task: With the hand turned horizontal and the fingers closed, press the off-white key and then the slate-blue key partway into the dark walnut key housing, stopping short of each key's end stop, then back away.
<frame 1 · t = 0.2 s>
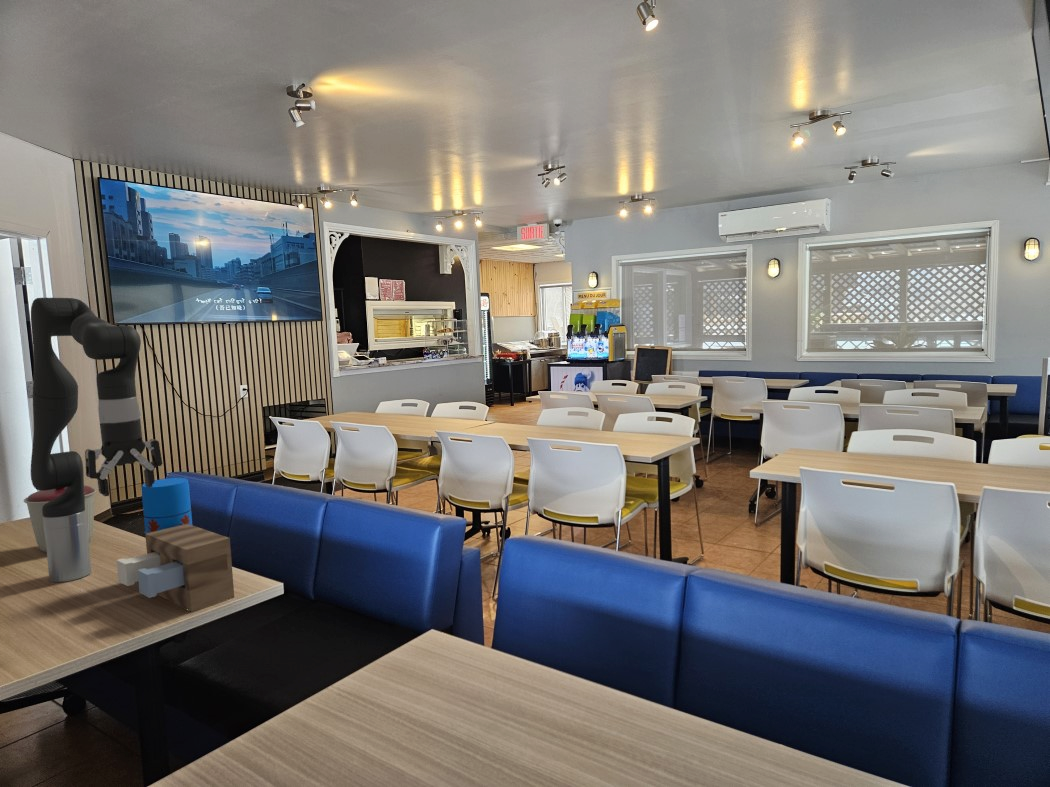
hand: (127, 491, 143), 29 cm above the table, tool pointing down, fingers open, 8 cm apart
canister: (66, 548, 199), on the table
key blue: (170, 575, 148), point 8 cm above the table, slide at 0.0 cm
thermos: (173, 576, 171), on the table
housing: (191, 594, 158), on the table
key white: (148, 565, 155), point 8 cm above the table, slide at 0.0 cm
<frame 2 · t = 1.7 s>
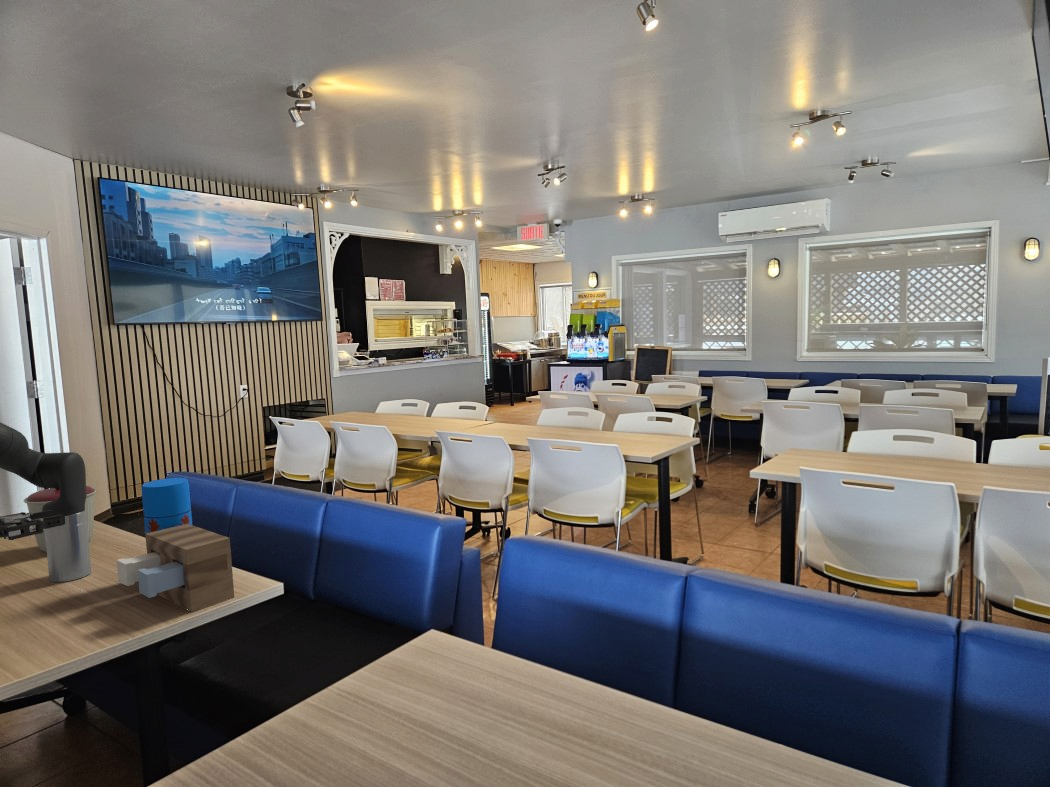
hand: (58, 517, 141), 24 cm above the table, tool horizontal, fingers open, 6 cm apart
nothing on the table moved.
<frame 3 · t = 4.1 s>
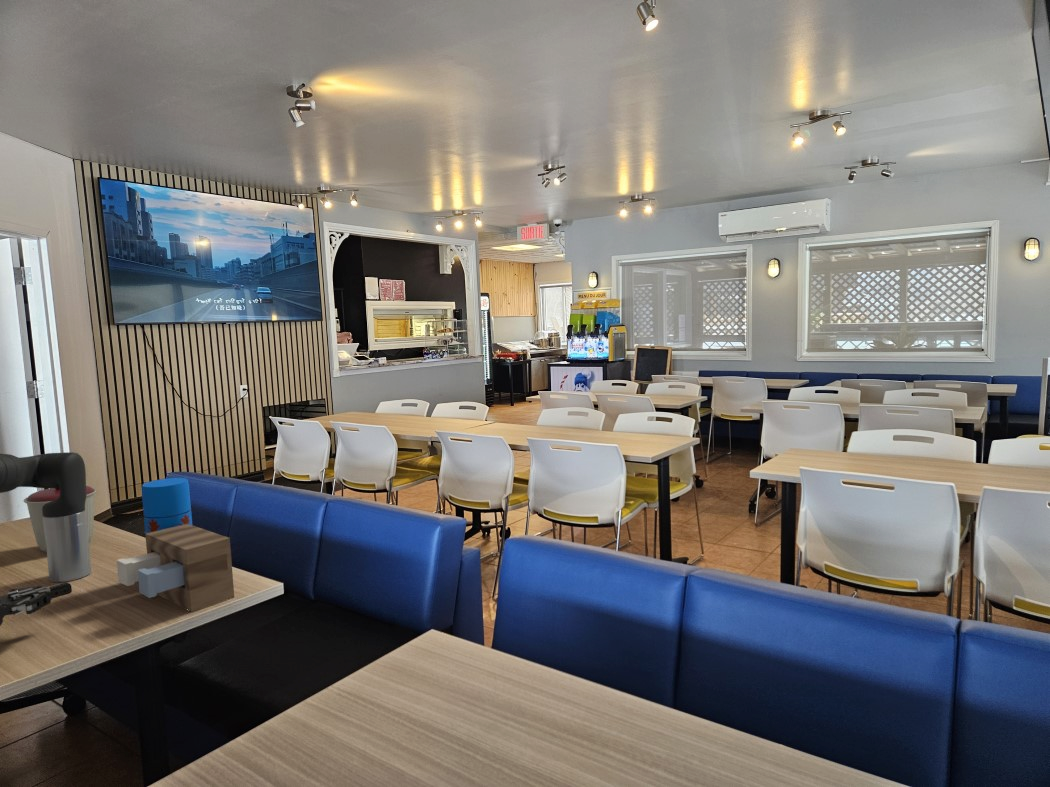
hand: (70, 587, 143), 8 cm above the table, tool horizontal, fingers closed
nothing on the table moved.
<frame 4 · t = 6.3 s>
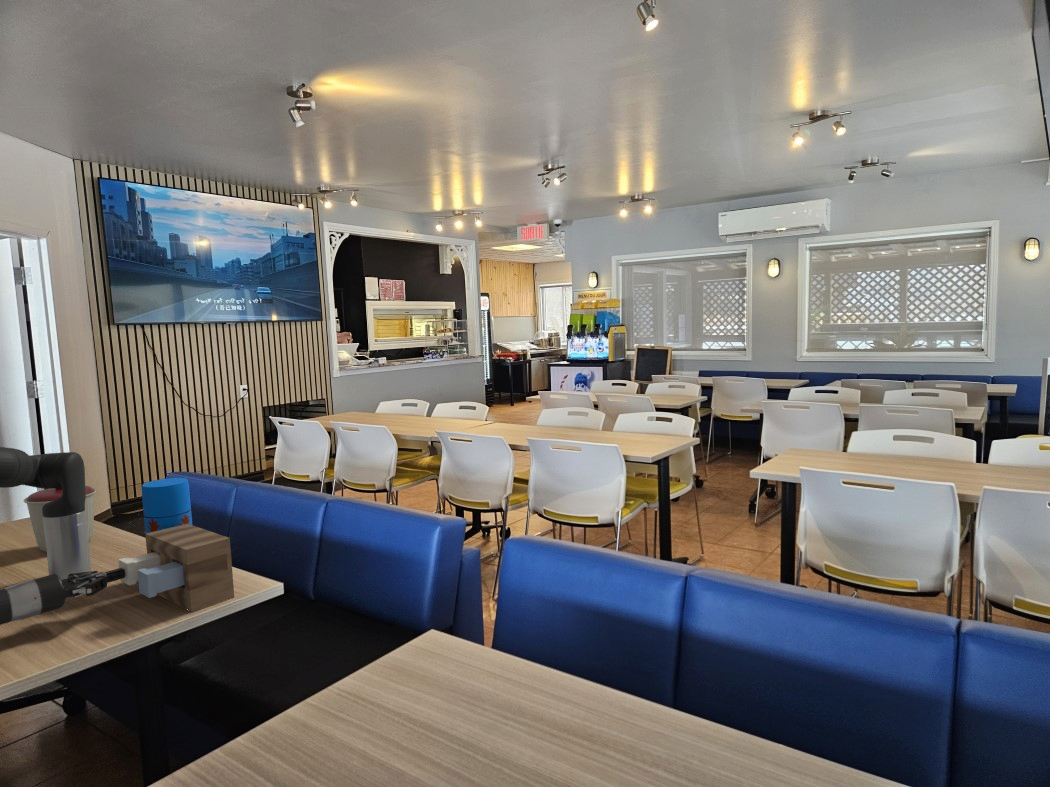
hand: (123, 572, 151), 8 cm above the table, tool horizontal, fingers closed
key white: (150, 565, 156), point 8 cm above the table, slide at 0.4 cm, touching gripper
everything else where it was.
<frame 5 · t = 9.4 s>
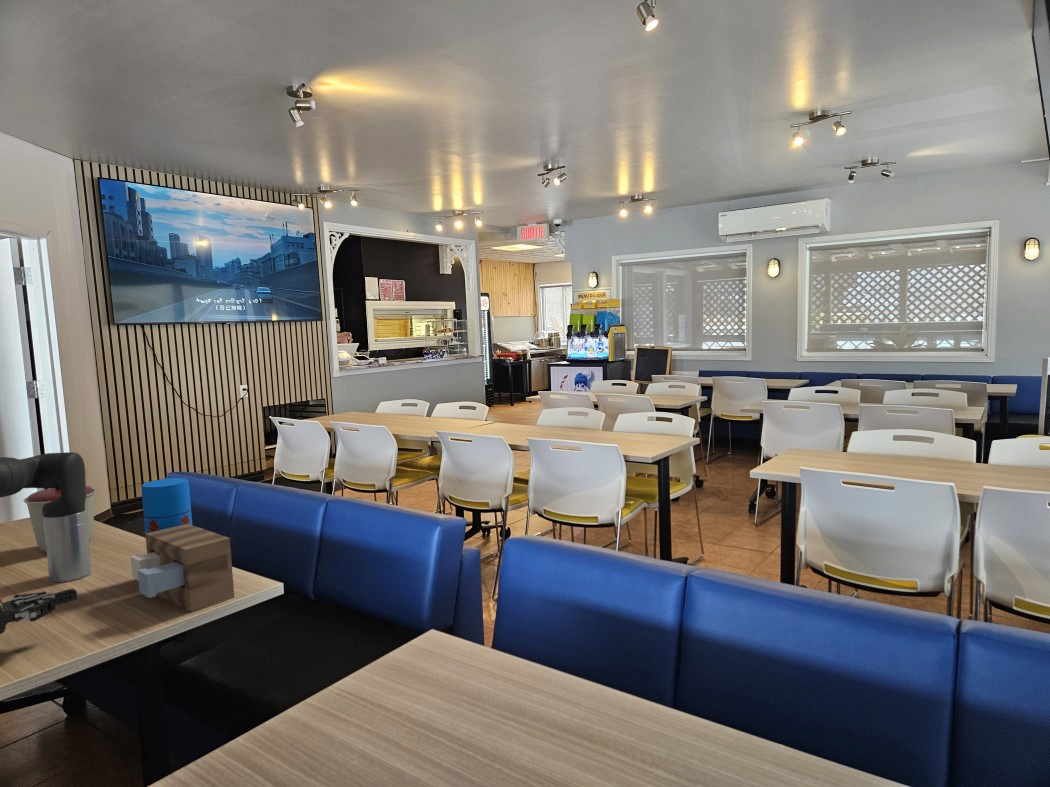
hand: (75, 593, 138), 8 cm above the table, tool horizontal, fingers closed
key white: (161, 561, 158), point 8 cm above the table, slide at 3.0 cm
everything else where it was.
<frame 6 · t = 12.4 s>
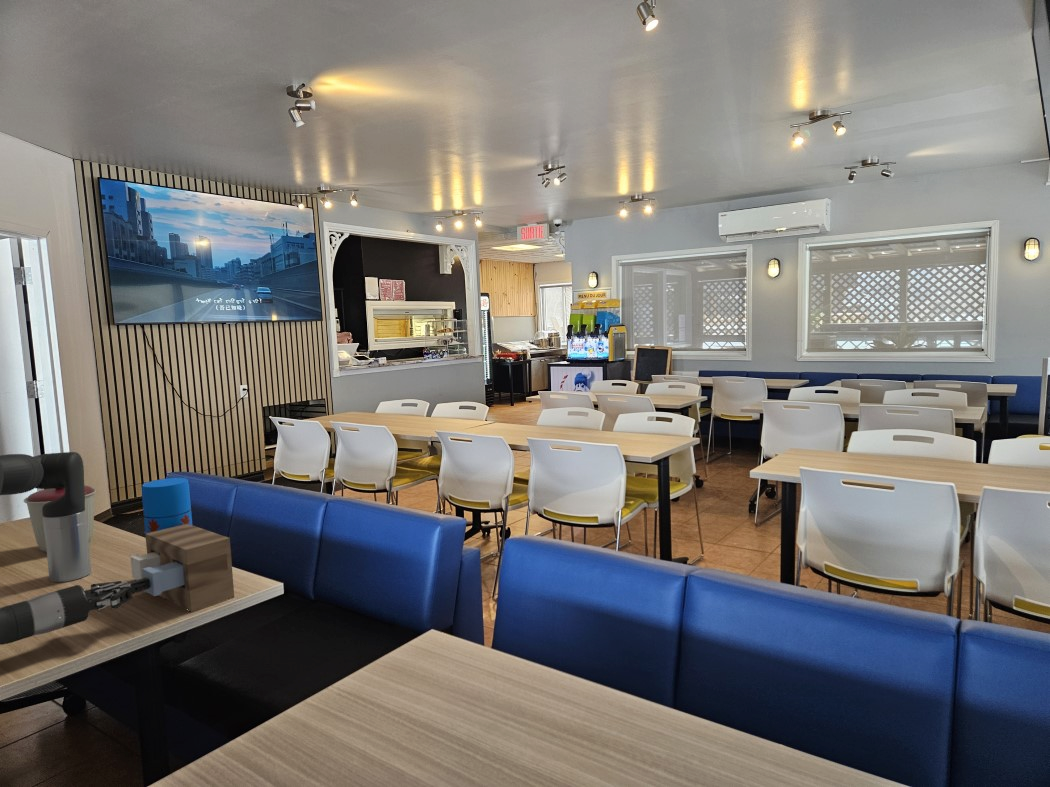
hand: (148, 582, 144), 8 cm above the table, tool horizontal, fingers closed
key blue: (175, 574, 149), point 8 cm above the table, slide at 1.1 cm, touching gripper
everything else where it was.
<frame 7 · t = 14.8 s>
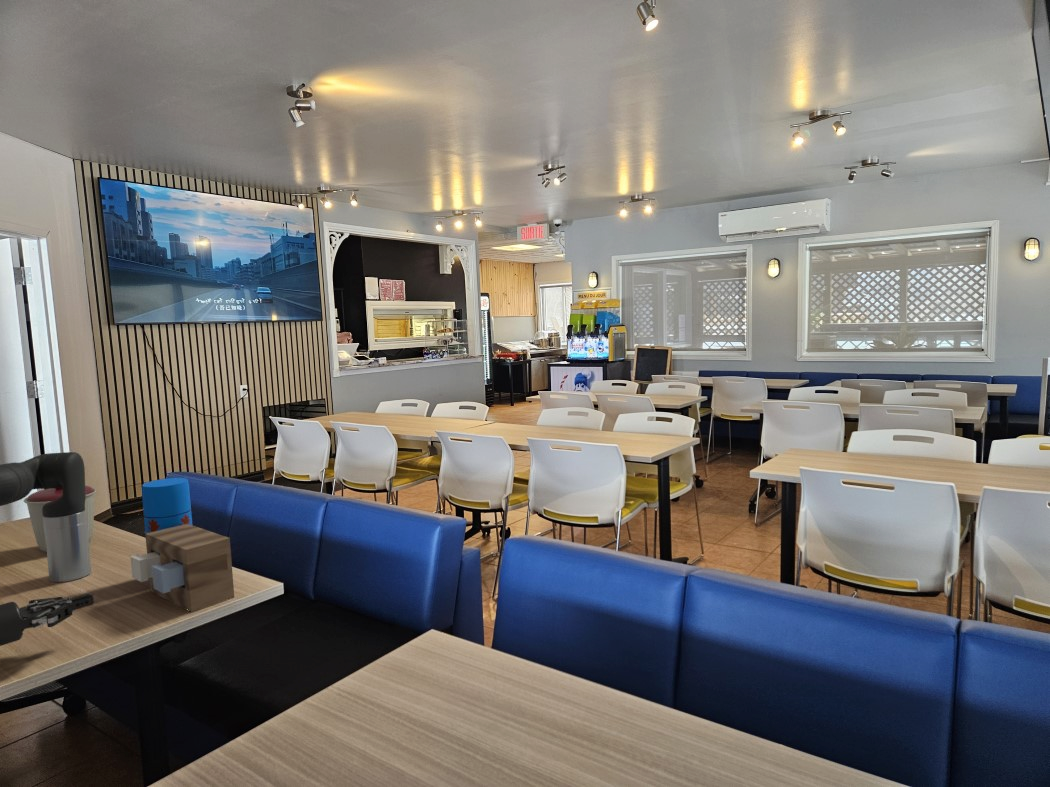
hand: (91, 598, 136), 8 cm above the table, tool horizontal, fingers closed
key blue: (184, 571, 150), point 8 cm above the table, slide at 3.0 cm
everything else where it was.
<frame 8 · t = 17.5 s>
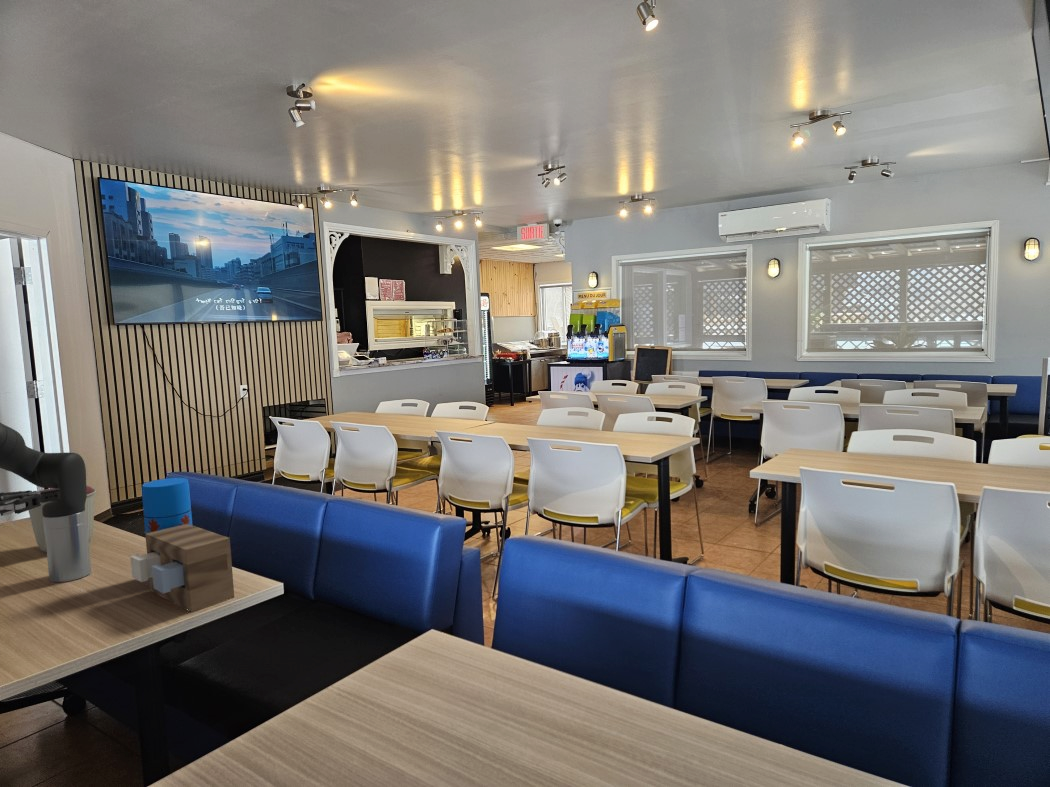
hand: (61, 493, 137), 30 cm above the table, tool horizontal, fingers closed
nothing on the table moved.
at the end: key white slide at 3.0 cm; key blue slide at 3.0 cm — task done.
